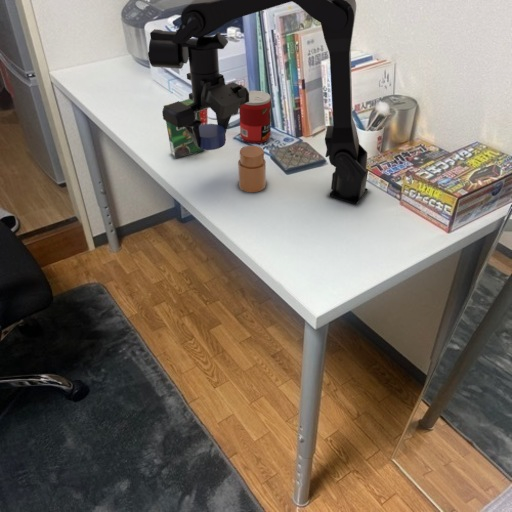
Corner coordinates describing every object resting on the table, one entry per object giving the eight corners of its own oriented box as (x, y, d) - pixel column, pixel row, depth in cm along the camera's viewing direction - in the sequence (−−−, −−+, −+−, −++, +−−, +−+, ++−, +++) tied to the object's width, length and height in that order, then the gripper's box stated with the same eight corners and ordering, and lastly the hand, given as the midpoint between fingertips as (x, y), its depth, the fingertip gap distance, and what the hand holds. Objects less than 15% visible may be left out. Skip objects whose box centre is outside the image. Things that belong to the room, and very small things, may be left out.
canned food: (267, 145, 126) (268, 103, 119) (237, 142, 127) (235, 101, 120) (272, 131, 132) (273, 91, 125) (243, 129, 133) (242, 89, 126)
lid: (190, 140, 109) (189, 127, 107) (218, 133, 111) (217, 121, 109) (202, 153, 104) (201, 140, 102) (230, 145, 107) (230, 133, 105)
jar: (270, 182, 113) (270, 148, 107) (256, 195, 109) (255, 160, 103) (248, 175, 115) (247, 142, 110) (234, 187, 111) (232, 153, 106)
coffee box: (174, 159, 121) (167, 108, 113) (170, 154, 123) (162, 104, 115) (204, 151, 124) (199, 101, 116) (199, 146, 126) (194, 97, 118)
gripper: (190, 94, 88) (198, 171, 98) (267, 68, 97) (267, 140, 108) (155, 77, 94) (166, 151, 104) (230, 54, 104) (233, 123, 114)
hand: (210, 141), depth 107 cm, fingers closed on lid, 6 cm apart
